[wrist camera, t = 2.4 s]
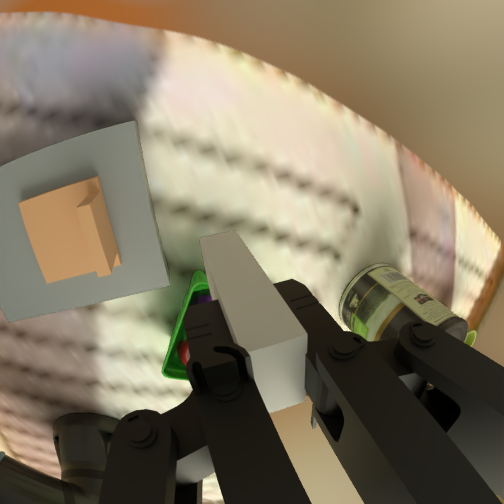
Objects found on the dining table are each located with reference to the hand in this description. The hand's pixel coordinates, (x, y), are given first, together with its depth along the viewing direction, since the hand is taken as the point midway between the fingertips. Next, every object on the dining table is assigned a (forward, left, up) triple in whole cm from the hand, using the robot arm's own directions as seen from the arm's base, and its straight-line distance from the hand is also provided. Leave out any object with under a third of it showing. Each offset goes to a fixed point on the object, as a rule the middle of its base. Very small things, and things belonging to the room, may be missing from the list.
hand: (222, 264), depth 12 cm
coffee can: (-18, -21, -15) cm, 31 cm away
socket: (0, +12, -15) cm, 19 cm away
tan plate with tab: (0, +10, -12) cm, 15 cm away
